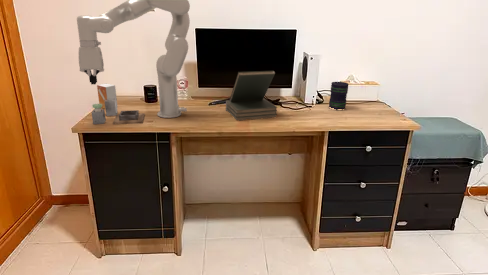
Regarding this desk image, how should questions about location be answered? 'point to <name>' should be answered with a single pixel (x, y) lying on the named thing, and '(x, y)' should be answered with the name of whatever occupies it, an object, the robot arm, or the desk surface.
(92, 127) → the desk surface
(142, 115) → the square base with tray
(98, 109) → the button
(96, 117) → the button post
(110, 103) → the block
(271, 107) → the tilted panel stand
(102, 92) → the small box
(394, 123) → the desk surface
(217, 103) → the desk surface
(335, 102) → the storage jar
